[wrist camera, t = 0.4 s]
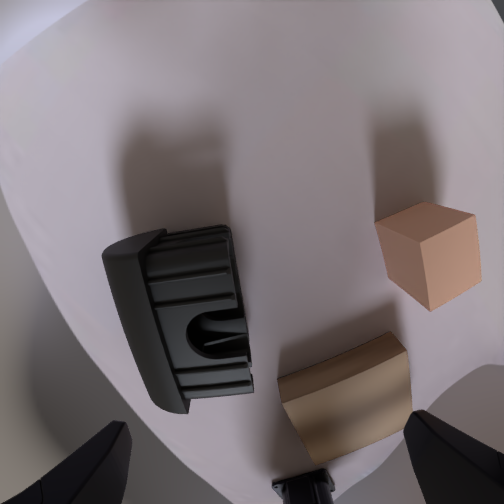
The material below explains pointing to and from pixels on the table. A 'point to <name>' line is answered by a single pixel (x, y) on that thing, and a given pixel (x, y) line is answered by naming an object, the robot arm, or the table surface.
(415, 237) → the terracotta block
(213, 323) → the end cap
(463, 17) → the table surface
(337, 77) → the table surface
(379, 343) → the tan block
